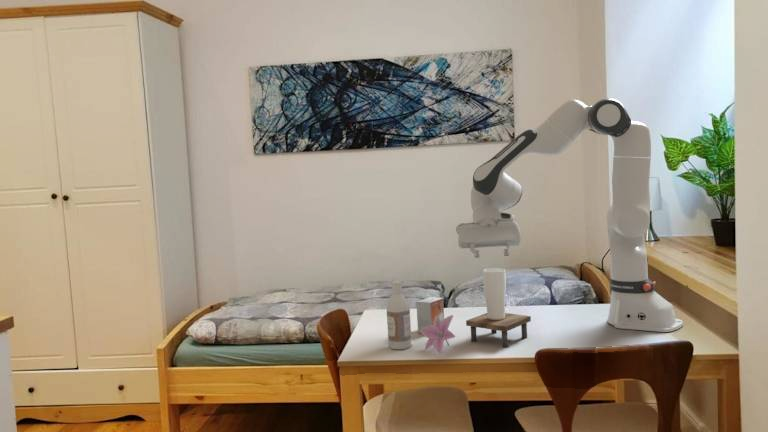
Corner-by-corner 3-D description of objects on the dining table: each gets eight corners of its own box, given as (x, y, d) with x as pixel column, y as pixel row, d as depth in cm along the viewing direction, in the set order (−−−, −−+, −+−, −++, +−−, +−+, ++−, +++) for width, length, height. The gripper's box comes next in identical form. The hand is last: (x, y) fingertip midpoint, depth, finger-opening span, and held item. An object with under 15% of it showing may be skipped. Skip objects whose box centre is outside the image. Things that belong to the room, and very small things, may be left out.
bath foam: (384, 347, 203) (380, 282, 202) (402, 342, 207) (399, 278, 205) (397, 351, 198) (393, 285, 196) (416, 346, 202) (412, 281, 200)
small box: (432, 335, 214) (430, 302, 213) (417, 333, 217) (415, 301, 216) (445, 329, 220) (443, 297, 219) (431, 327, 223) (429, 296, 222)
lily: (420, 346, 205) (410, 323, 201) (453, 328, 207) (444, 305, 202) (436, 369, 195) (426, 345, 190) (471, 349, 196) (461, 325, 192)
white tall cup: (507, 321, 200) (504, 271, 199) (484, 321, 201) (481, 272, 200) (508, 315, 206) (505, 267, 205) (485, 315, 208) (483, 268, 207)
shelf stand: (531, 337, 205) (530, 316, 204) (506, 348, 194) (505, 326, 194) (492, 331, 214) (491, 311, 214) (467, 341, 204) (466, 320, 203)
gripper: (455, 217, 219) (459, 251, 210) (518, 214, 218) (524, 248, 209) (455, 229, 224) (458, 263, 215) (516, 226, 223) (522, 260, 214)
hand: (491, 255), depth 212 cm, fingers open, 8 cm apart
